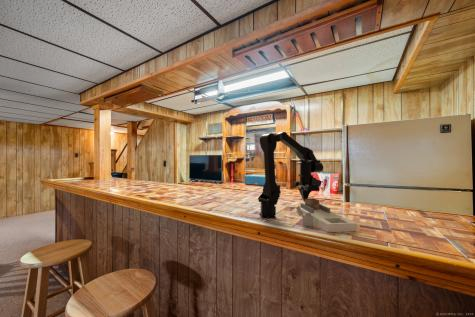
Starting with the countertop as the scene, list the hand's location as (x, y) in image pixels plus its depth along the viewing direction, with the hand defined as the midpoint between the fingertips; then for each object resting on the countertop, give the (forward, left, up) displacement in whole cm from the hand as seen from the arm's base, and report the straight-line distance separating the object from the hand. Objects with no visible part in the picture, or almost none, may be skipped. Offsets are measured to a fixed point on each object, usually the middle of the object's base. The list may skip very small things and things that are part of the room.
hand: (305, 201), depth 109 cm
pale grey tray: (0, -17, -5) cm, 17 cm away
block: (0, -7, -2) cm, 8 cm away
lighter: (-11, -22, -5) cm, 25 cm away
